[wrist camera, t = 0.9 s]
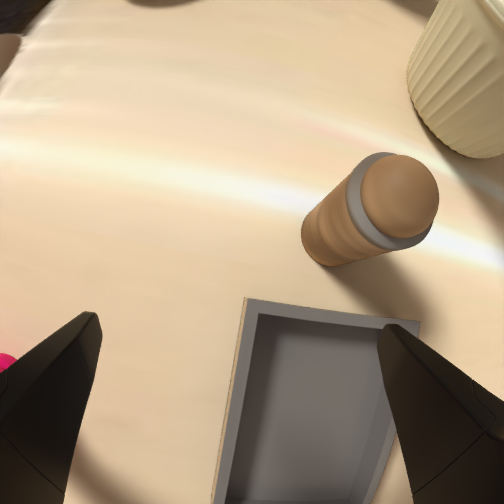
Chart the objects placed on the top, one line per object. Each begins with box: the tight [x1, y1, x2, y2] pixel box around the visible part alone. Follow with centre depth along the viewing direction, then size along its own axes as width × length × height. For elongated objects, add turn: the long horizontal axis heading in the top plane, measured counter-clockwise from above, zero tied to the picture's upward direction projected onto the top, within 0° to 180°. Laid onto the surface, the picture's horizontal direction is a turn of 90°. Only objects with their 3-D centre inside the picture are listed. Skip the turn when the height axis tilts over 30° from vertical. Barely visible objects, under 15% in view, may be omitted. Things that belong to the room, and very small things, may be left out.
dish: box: [211, 297, 420, 504], centre depth 21 cm, size 18×13×4 cm
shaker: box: [301, 152, 439, 266], centre depth 18 cm, size 5×5×12 cm
